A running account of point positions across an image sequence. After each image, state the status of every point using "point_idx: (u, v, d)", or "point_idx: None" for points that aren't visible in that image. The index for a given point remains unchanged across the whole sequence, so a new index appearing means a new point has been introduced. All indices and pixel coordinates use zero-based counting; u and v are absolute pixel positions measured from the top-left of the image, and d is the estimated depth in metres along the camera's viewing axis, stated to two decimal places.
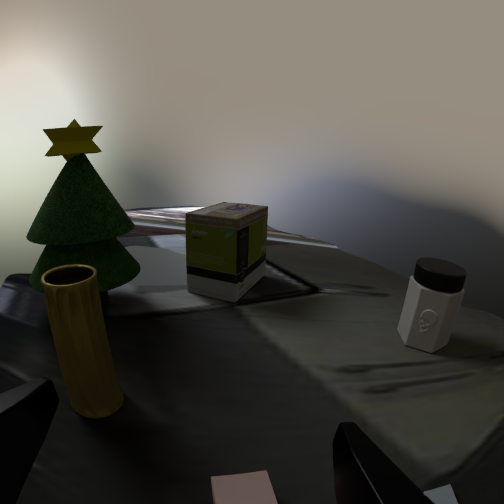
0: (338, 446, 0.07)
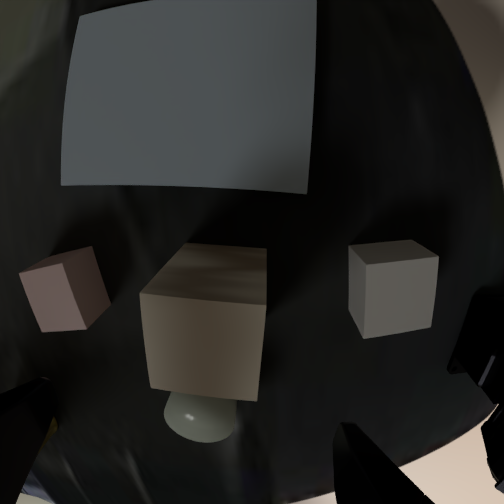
0: (338, 446, 0.07)
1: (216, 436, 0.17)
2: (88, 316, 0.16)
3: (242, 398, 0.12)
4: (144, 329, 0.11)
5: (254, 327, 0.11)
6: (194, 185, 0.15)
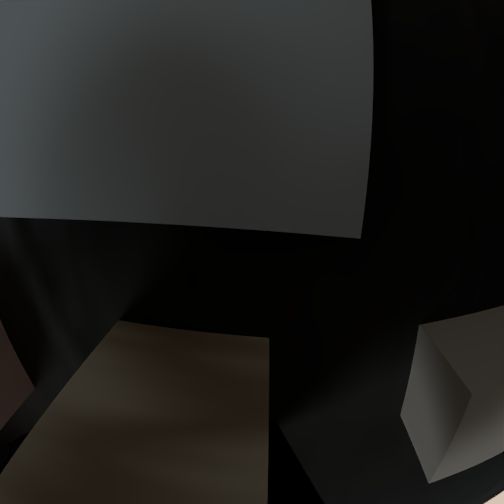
0: None
1: None
2: None
3: None
4: None
5: None
6: (112, 218, 0.07)
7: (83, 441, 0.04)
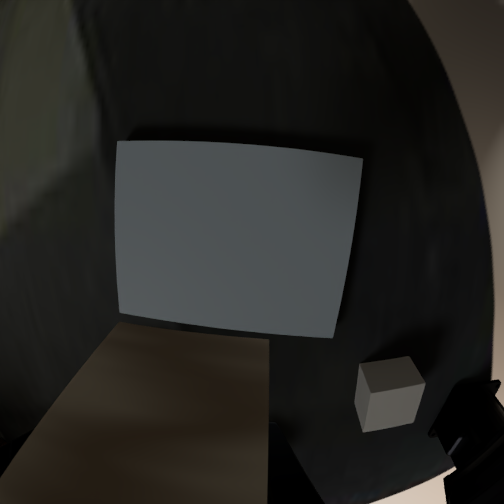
0: None
1: None
2: None
3: None
4: None
5: None
6: (244, 330, 0.19)
7: (84, 443, 0.04)
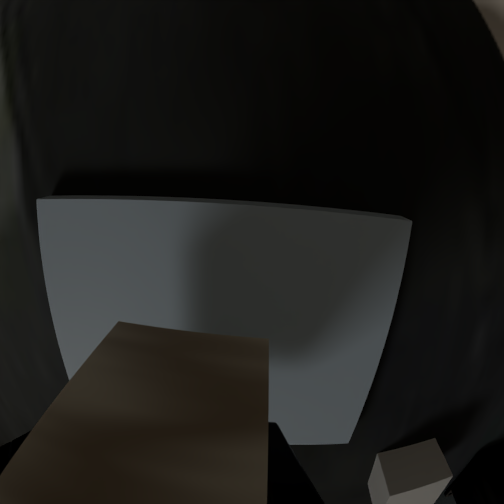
0: None
1: None
2: None
3: None
4: None
5: None
6: None
7: (83, 442, 0.04)
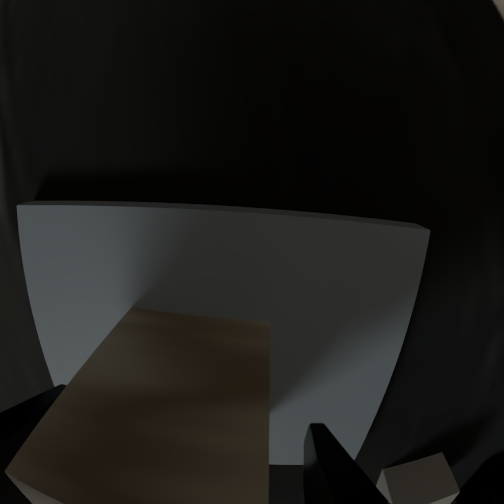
0: (307, 447, 0.07)
1: None
2: None
3: None
4: None
5: None
6: None
7: (102, 410, 0.05)
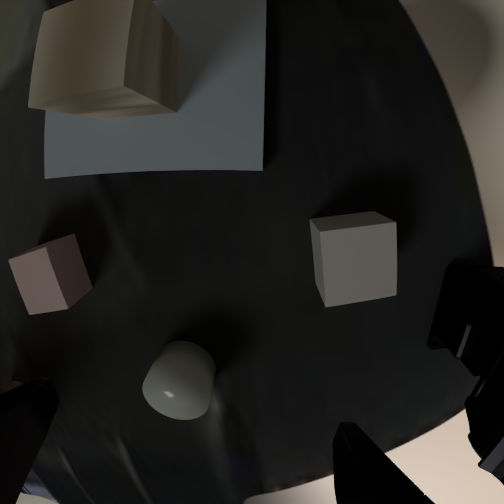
0: (338, 446, 0.07)
1: (193, 412, 0.18)
2: (70, 297, 0.17)
3: (108, 85, 0.09)
4: (38, 40, 0.08)
5: (126, 1, 0.08)
6: (159, 169, 0.16)
7: None
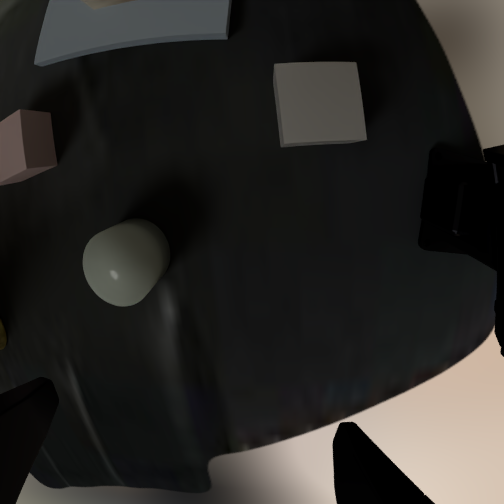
0: (338, 446, 0.07)
1: (134, 294, 0.16)
2: (31, 160, 0.15)
3: None
4: None
5: None
6: (133, 39, 0.14)
7: None
